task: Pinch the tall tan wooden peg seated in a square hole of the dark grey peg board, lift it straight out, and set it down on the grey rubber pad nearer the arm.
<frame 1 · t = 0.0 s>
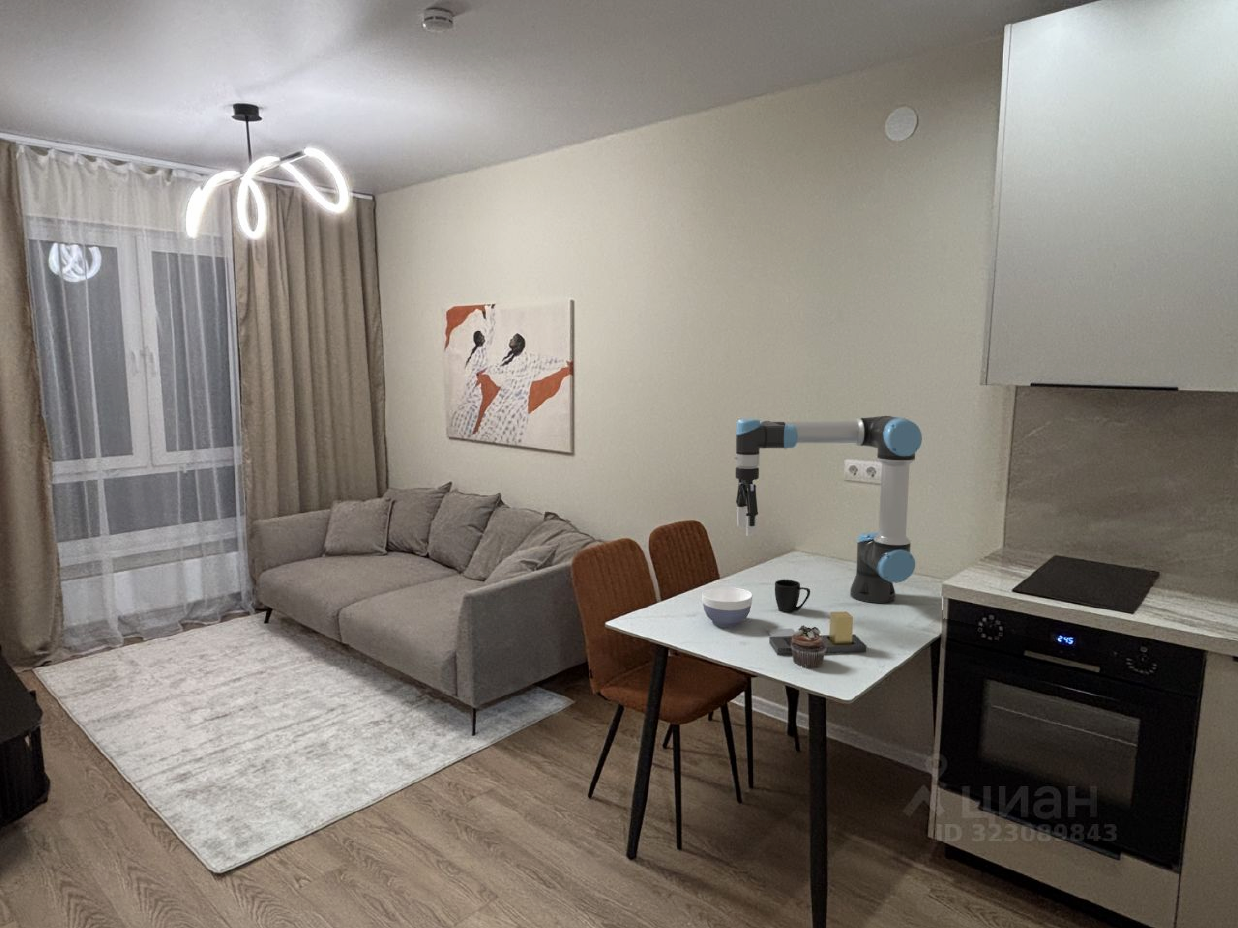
hand: (746, 530, 247), 28 cm above the table, fingers open, 13 cm apart
mug: (791, 611, 252), on the table
dark grey peg board: (816, 647, 221), on the table
cupcake: (807, 663, 210), on the table
bowl: (726, 623, 242), on the table
tan wooden peg: (840, 647, 221), resting in dark grey peg board
pad: (783, 635, 231), on the table
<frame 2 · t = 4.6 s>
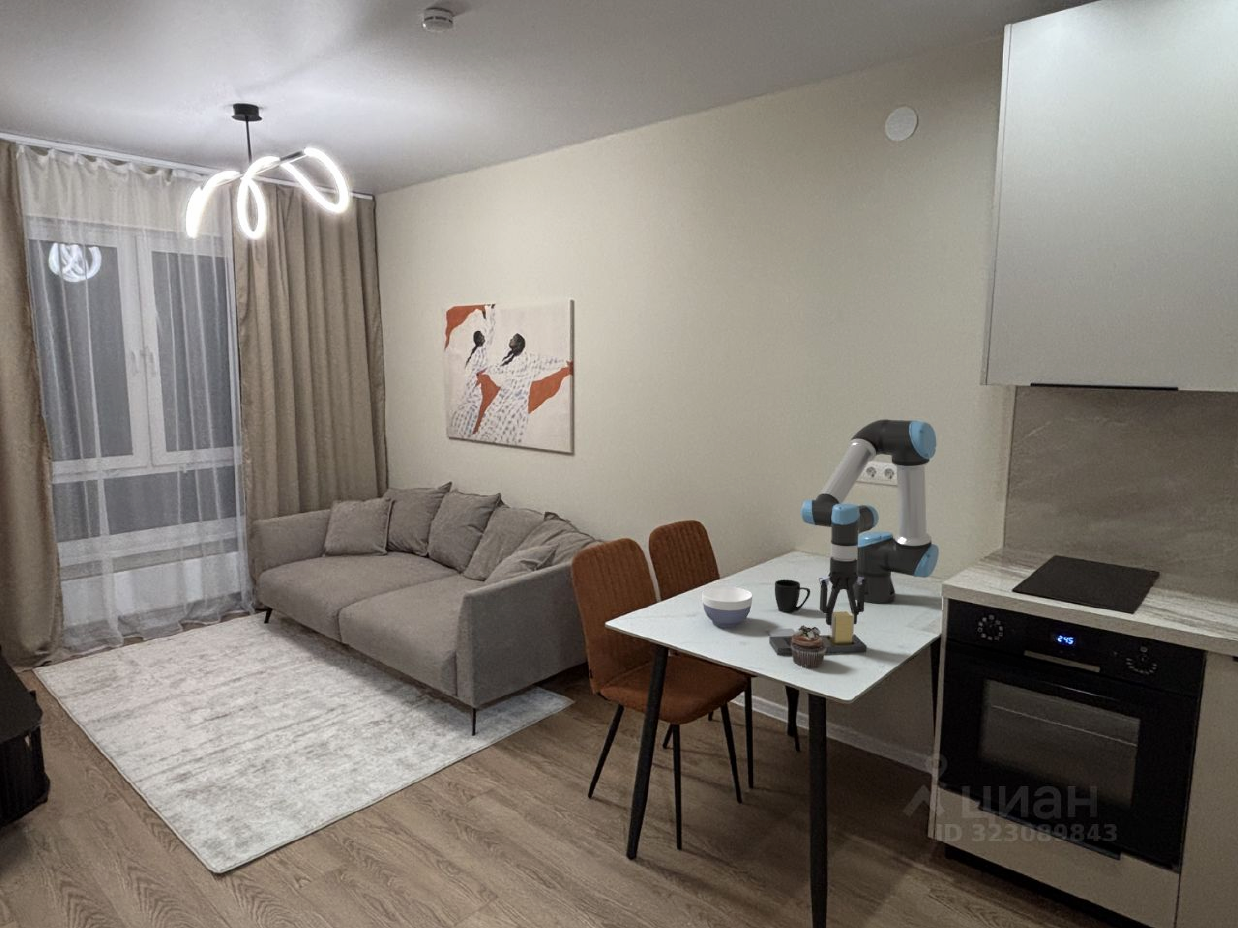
hand: (840, 634, 221), 4 cm above the table, fingers closed on tan wooden peg, 5 cm apart
tan wooden peg: (840, 647, 221), resting in dark grey peg board, touching gripper
everything else where it was.
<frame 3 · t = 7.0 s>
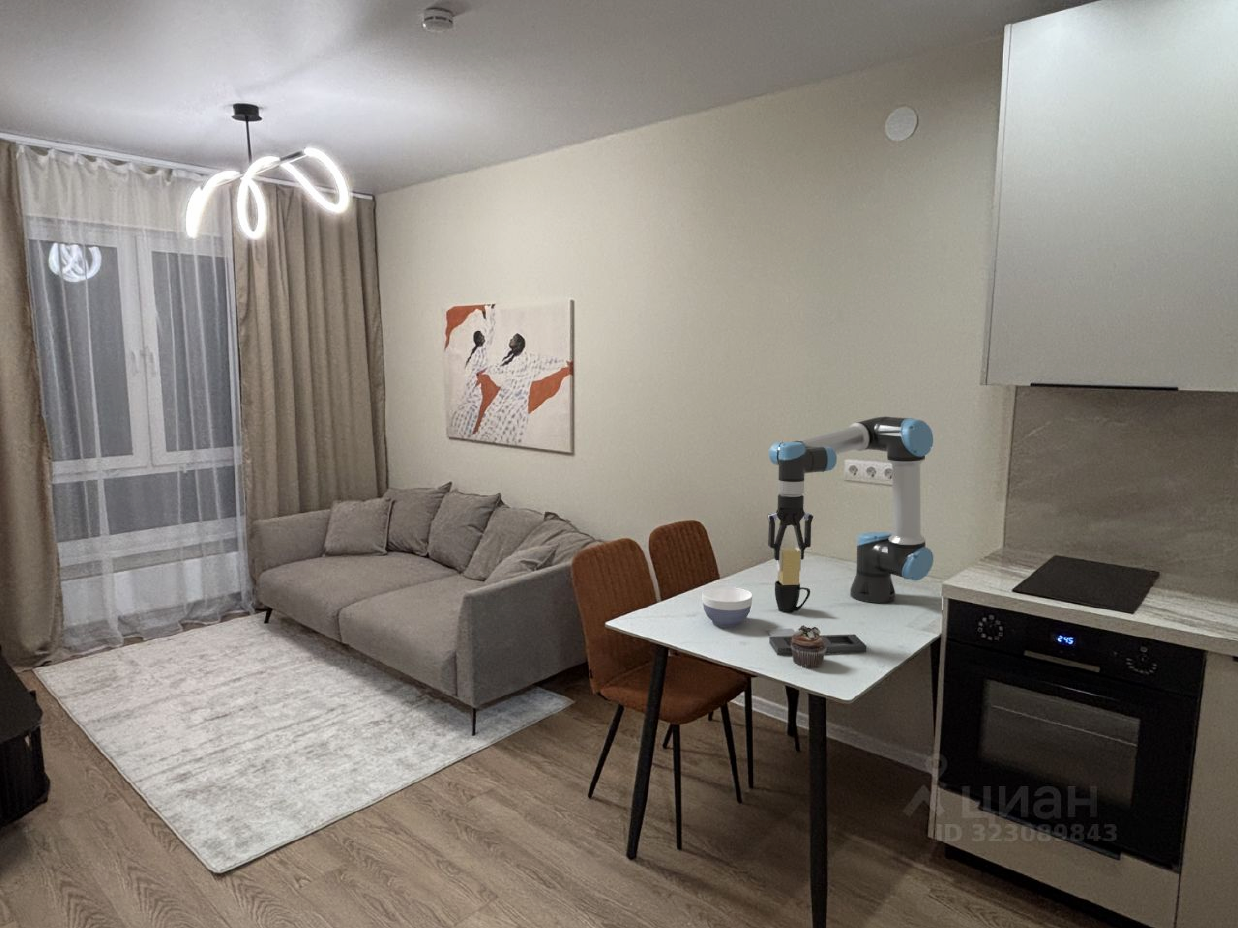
hand: (788, 569, 227), 21 cm above the table, fingers closed on tan wooden peg, 5 cm apart
tan wooden peg: (788, 582, 227), point 17 cm above the table, touching gripper
everything else where it was.
when the fingers open (6 cm above the table, at t = 9.7 s): tan wooden peg drops 1 cm, resting on pad.
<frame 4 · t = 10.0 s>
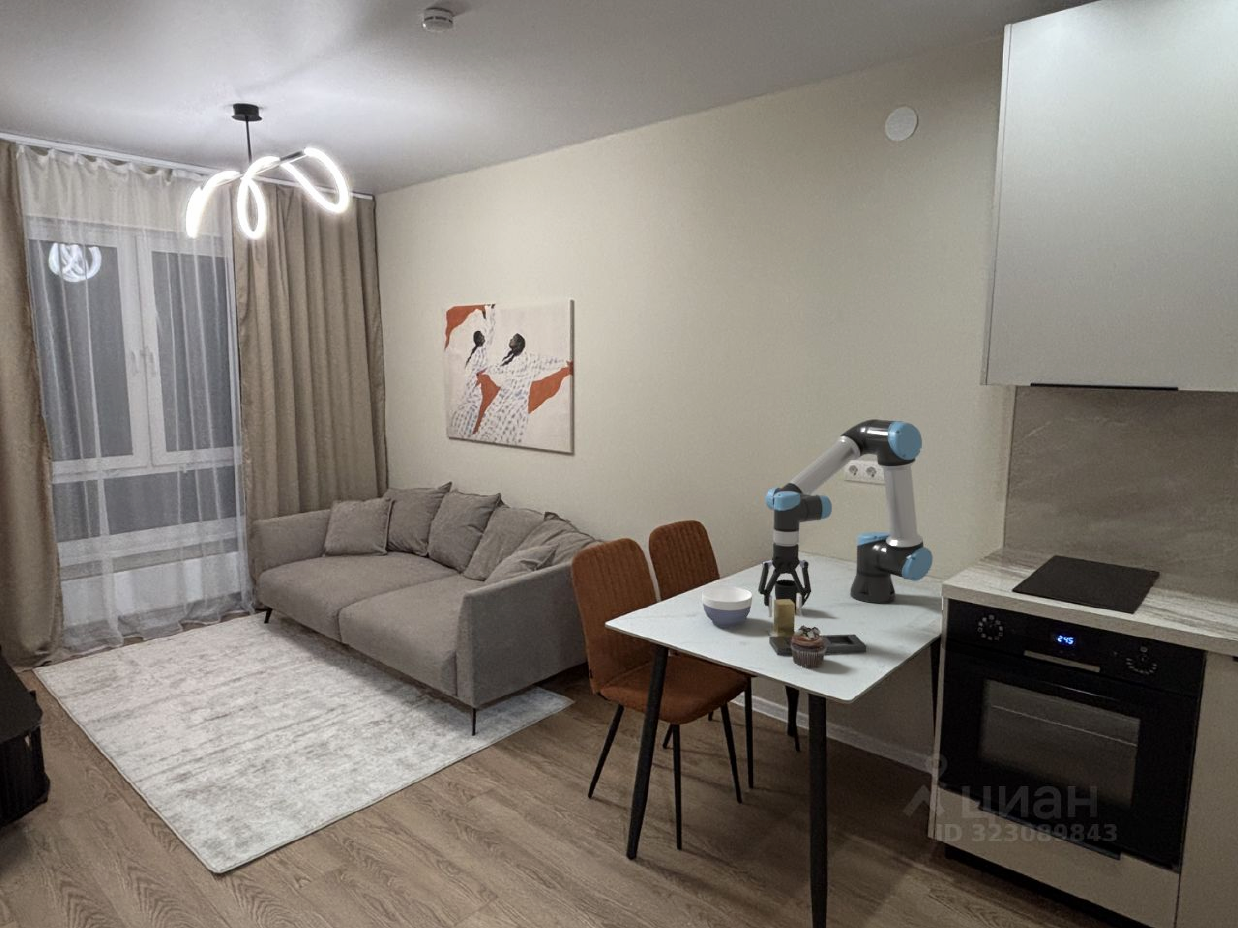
hand: (783, 615, 230), 6 cm above the table, fingers open, 8 cm apart
tan wooden peg: (783, 633, 230), point 1 cm above the table, touching pad
everything else where it was.
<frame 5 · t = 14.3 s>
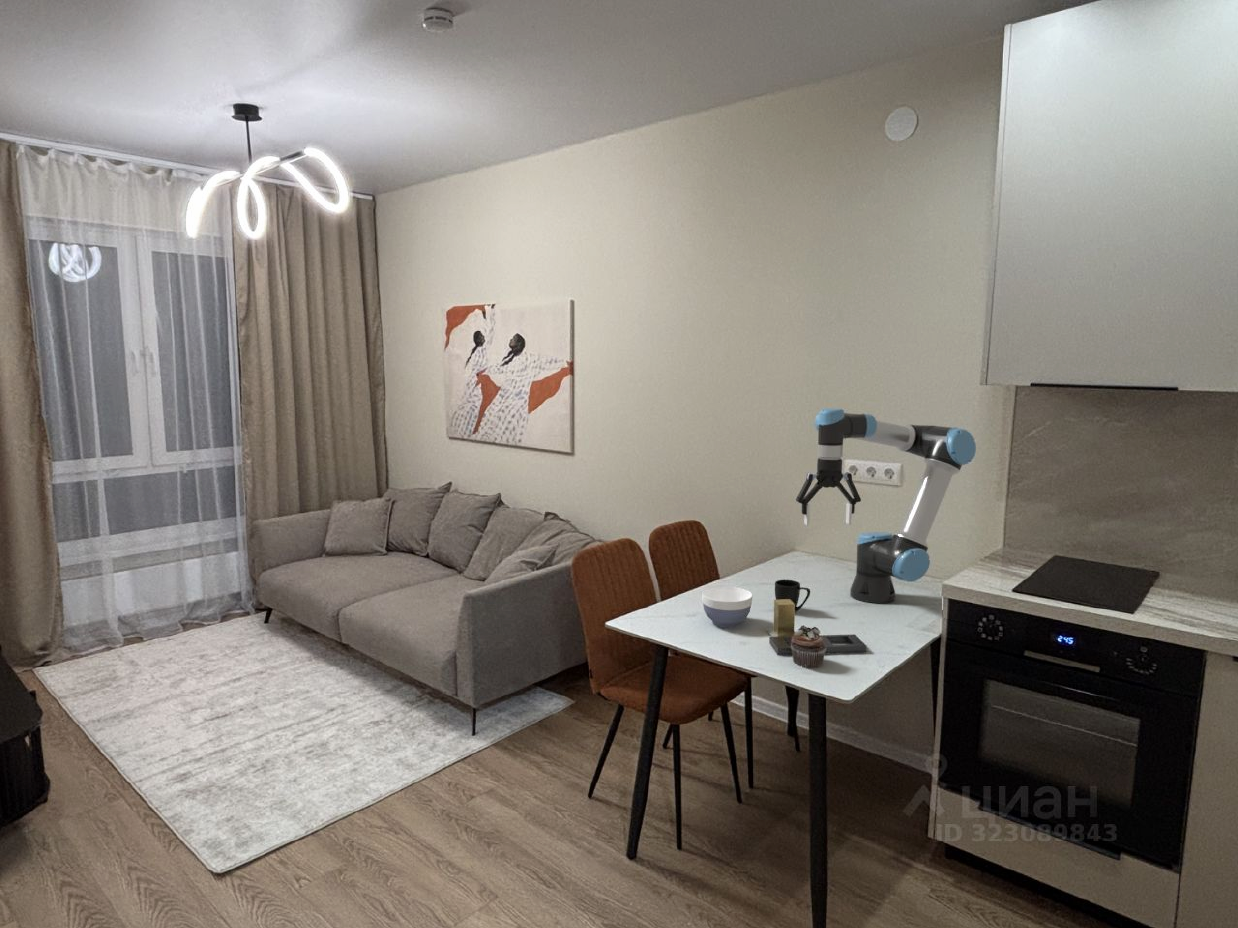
hand: (827, 524, 240), 32 cm above the table, fingers open, 13 cm apart
nothing on the table moved.
at the end: tan wooden peg inside the target area on the pad (0.1 cm from its centre), point 0.6 cm above the pad's base; the gripper is holding nothing; tan wooden peg moved 17.5 cm from its start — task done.
